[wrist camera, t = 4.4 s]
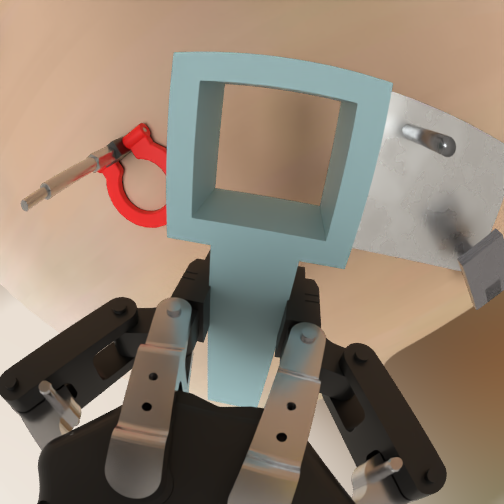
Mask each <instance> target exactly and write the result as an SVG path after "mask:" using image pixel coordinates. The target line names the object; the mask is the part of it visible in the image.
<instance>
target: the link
mask: <svg viewBox="0 0 504 504" xmlns="http://www.w3.org/2000/svg"><path fill="white" fill-rule="evenodd" d="M225 84H234V85H245V86H255V87H264V88H271V89H279V90H285V91H292V92H298V93H303V94H309V95H314V96H319V97H324V98H328V99H333V100H337V101H341V105H340V111H339V117H338V122H337V127H336V133H335V138H334V143H333V148H332V153H331V158H330V162H329V167H328V172H327V176H326V181H325V186H324V190H323V194H322V199H321V203H320V206H317V205H312V204H307V203H301V202H296V201H291V200H285V199H279V198H274V197H268V196H262V195H256V194H250V193H243V192H237V191H230V190H223V189H217V188H215V184H216V171H217V159H218V147H219V136H220V125H221V115H222V106H223V96H224V87H225ZM392 86H393V83H391V82H388V81H385V80H382V79H379V78H375V77H372V76H369V75H365V74H362V73H358V72H354V71H350V70H346V69H342V68H338V67H334V66H329V65H325V64H320V63H315V62H309V61H304V60H298V59H291V58H284V57H277V56H269V55H259V54H247V53H232V52H174V55H173V64H172V74H171V84H170V97H169V111H168V130H167V161H166V211H167V237H168V238H174V239H179V240H185V241H191V242H196V243H202V244H207V245H211V251H210V275H209V286H211V292H210V326H209V328H208V400H212V401H216V402H221V403H226V404H230V405H236V406H241V407H246V406H252V407H257V406H258V403H259V400H260V397H261V394H262V391H263V387H264V384H265V381H266V378H267V375H268V371H269V368H270V365H271V361H272V358H273V355H274V351H275V348H276V340H277V336H278V332H279V328H280V325H281V321H282V318H283V314H284V310H285V306H286V303H287V300H289V298H290V294H291V290H292V287H293V283H294V279H295V275H296V271H297V267H298V263H299V261H302V262H308V263H313V264H319V265H325V266H330V267H336V268H341V269H345V266H346V264H347V261H348V258H349V255H350V252H351V249H352V246H353V243H354V240H355V237H356V234H357V230H358V227H359V224H360V221H361V218H362V214H363V211H364V207H365V204H366V201H367V197H368V194H369V190H370V186H371V183H372V179H373V175H374V171H375V167H376V163H377V159H378V155H379V151H380V147H381V142H382V138H383V133H384V129H385V124H386V119H387V114H388V109H389V103H390V98H391V92H392Z"/></svg>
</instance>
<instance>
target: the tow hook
mask: <svg viewBox="0 0 504 504" xmlns="http://www.w3.org/2000/svg"><path fill="white" fill-rule="evenodd" d="M149 135H150V130H149V128H148V127H147V126H146V125H145V124H143V123H141V124H139V125H138V126H137V127H135V128H134V129H133V130H132V131H131V132H129V133H128V134H127V135H126V136H124V137H121V138H119V139H116V140H114V141H112V142H111V143H110V144H108V145H107V146H106V147H104V148H102V149H100V150H98V151H96V152H94V153H92V154H90V155H89V156H88V157H87V158H86V159H85V160H83V161H81V162H79V163H78V164H76V165H74V166H72V167H70V168H68V169H66V170H65V171H63V172H61V173H59V174H58V175H56V176H54V177H52V178H51V179H49V180H47V181H46V182H44V183H42V184H41V186H40V189H38V190H37V191H35V192H34V193H32V194H31V195H29V196H27V197H26V198H24V199H23V200H22V201H21V207H22V209H23V210H24V211H28V210H29V209H31V208H32V207H33V206H35V205H36V204H38V203H39V202H41V201H42V200H43V199H47V200H48V199H50V198H52V197H53V196H55V195H56V194H58V193H59V192H61V191H62V190H64V189H65V188H67V187H68V186H70V185H71V184H73V183H75V182H76V181H78V180H79V179H81V178H83V177H84V176H86V175H88V174H89V173H91V172H93V173H96V172H99V173H103V175H104V176H105V178H106V179H107V189H108V193H109V196H110V198H111V201H112V203H113V205H114V206H115V207H116V209H117V210H118V211H119V213H120V214H121V215H123V216H124V217H125V218H126V219H127V220H129V221H131V222H132V223H134V224H136V225H139V226H143V227H151V228H156V227H160V226H164V225H166V224H167V211H166V205H165V206H164V207H163V208H161V209H159V210H156V211H145V210H141V209H140V208H138V207H136V206H135V205H133V204H132V203H131V202H130V201H129V199H128V198H127V197H126V195H125V193H124V190H123V186H122V175H123V172H124V171H123V168H122V166H121V165H120V163H119V160H121V159H122V158H123V157H124V156H126V155H127V154H128V153H129V152H131V151H132V152H133V154H134V156H135V157H136V158H137V159H145V160H149V161H151V162H153V163H155V164H156V165H158V166H159V167H160V168H161V169H162V170H163V172H164V173H165V175H166V161H167V149H166V148H165V147H163V146H160V145H158V144H156V143H154V142H153V141H152V139H151V137H150V136H149Z"/></svg>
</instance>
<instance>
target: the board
mask: <svg viewBox="0 0 504 504" xmlns="http://www.w3.org/2000/svg"><path fill="white" fill-rule="evenodd" d="M407 124H411V125H415V126H418V127H422V128H425V129H428V130H432V131H435V132H438V133H441V134H444V135H447V136H450V137H452V138H453V139H454V141H455V143H456V151H455V153H454V155H452V156H451V157H445V156H443V155H441V154H439V153H437V152H435V151H432V150H430V149H428V148H426V147H424V146H422V145H419V144H417V143H415V142H413V141H410V140H408V139H406V138H405V137H404V136H403V133H402V130H403V127H404V126H405V125H407ZM503 198H504V143H502V142H500V141H499V140H497V139H495V138H494V137H492V136H490V135H489V134H487V133H485V132H483V131H481V130H480V129H478V128H476V127H474V126H472V125H470V124H468V123H466V122H464V121H462V120H460V119H458V118H456V117H454V116H452V115H450V114H448V113H446V112H443V111H441V110H439V109H437V108H434V107H432V106H429V105H427V104H425V103H422V102H420V101H417V100H415V99H412V98H409V97H407V96H404V95H401V94H398V93H395V92H391V98H390V103H389V109H388V114H387V119H386V124H385V129H384V133H383V138H382V142H381V147H380V151H379V155H378V159H377V163H376V167H375V171H374V175H373V179H372V183H371V186H370V190H369V194H368V197H367V201H366V204H365V207H364V211H363V214H362V218H361V221H360V224H359V227H358V230H357V234H356V237H355V240H354V243H353V246H352V248H355V249H360V250H364V251H369V252H374V253H379V254H384V255H389V256H393V257H398V258H403V259H408V260H412V261H417V262H421V263H426V264H431V265H435V266H440V267H444V268H448V269H453V270H457V271H461V268H460V266H459V263H458V260H457V258H459V257H460V256H461V255H463V254H464V253H465V252H467V251H468V250H469V249H471V248H472V247H473V246H475V245H476V244H477V243H478V242H480V241H481V240H482V239H484V238H485V237H486V236H487V235H489V234H490V232H491V230H492V227H493V225H494V222H495V220H496V217H497V214H498V212H499V209H500V206H501V203H502V200H503Z"/></svg>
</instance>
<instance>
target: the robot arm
mask: <svg viewBox="0 0 504 504" xmlns="http://www.w3.org/2000/svg"><path fill="white" fill-rule="evenodd" d="M210 251H211V250H210ZM210 251H209V253H208V255H207V257H206V259H205V260H202V259H196V260H195V261H193V262H192V263H190V264H189V266H188V268H187V269H186V272H185V273H184V275H183V276H182V278H181V280H180V282H179V283H178V285H177V287H176V289H175V291H174V292H173V294H172V296H171V298H167V299H164V300H163V301H161V302H160V303H159V304H158V305H157V307H156V308H137V306H136V303H135V302H134V301H133V300H131V299H129V298H126V297H119V298H115V299H112V300H110V301H109V302H107V303H106V304H104V305H103V306H101V307H99V308H98V309H96V310H95V311H93V312H92V313H90V314H89V315H87V316H86V317H84V318H83V319H81V320H79V321H78V322H76V323H75V324H73V325H72V326H70V327H69V328H67V329H66V330H64V331H63V332H61V333H60V334H58V335H57V336H55V337H54V338H52V339H51V340H49V341H48V342H46V343H45V344H44V345H42V346H41V347H39V348H38V349H36V350H35V351H33V352H32V353H30V354H29V355H28V356H26V357H25V358H23V359H22V360H20V361H19V362H17V363H16V364H15V365H13V366H12V367H10V368H9V369H8V370H6V371H5V372H4V373H3V374H2V375H1V377H0V395H1V396H2V397H3V398H4V399H5V400H6V401H7V402H8V403H9V404H10V406H11V407H12V409H13V410H14V411H16V413H18V414H19V415H20V416H21V418H22V420H23V422H24V423H25V425H26V427H27V428H28V430H29V432H30V433H31V435H32V436H33V438H34V439H35V441H36V442H37V444H38V445H39V447H40V448H41V450H42V452H41V454H40V457H39V462H38V471H39V481H40V493H39V500H38V503H37V504H407V503H410V502H413V501H416V500H419V499H421V498H424V497H426V496H429V495H431V494H434V493H436V492H438V491H439V490H440V489H441V488H442V487H443V485H444V483H445V481H446V474H447V473H446V468H445V466H444V464H443V462H442V461H441V459H440V457H439V455H438V454H437V452H436V450H435V448H434V446H433V445H432V443H431V441H430V440H429V438H428V436H427V435H426V433H425V431H424V430H423V428H422V426H421V424H420V423H419V421H418V420H417V418H416V416H415V415H414V413H413V412H412V410H411V408H410V407H409V405H408V403H407V402H406V400H405V398H404V397H403V395H402V394H401V392H400V391H399V389H398V387H397V386H396V384H395V383H394V381H393V379H392V378H391V376H390V375H389V373H388V372H387V370H386V369H385V367H384V366H383V364H382V363H381V361H380V359H379V358H378V356H377V355H376V353H375V352H374V351H373V350H372V349H371V348H370V347H369V346H367V345H364V344H361V343H353V344H350V345H349V346H347V347H346V348H344V347H341V346H339V345H336V344H334V343H332V342H331V341H329V340H328V339H327V338H326V335H325V333H324V331H323V330H322V329H321V317H320V304H319V303H320V299H319V287H318V286H317V284H316V282H315V281H314V280H312V279H306V278H305V267H300V266H298V267H297V271H296V275H295V279H294V283H293V287H292V290H291V294H290V298H289V300H287V303H286V306H285V310H284V314H283V318H282V321H281V325H280V328H279V332H278V336H277V340H276V349H275V357H279V358H280V365H279V368H278V371H277V374H276V376H275V379H274V382H273V385H272V388H271V391H270V394H269V396H268V399H267V402H266V405H265V407H264V408H258V407H252V406H246V407H219V406H216V405H214V404H212V403H210V402H208V401H206V400H204V399H202V398H200V397H198V396H196V395H194V394H191V393H189V383H190V375H191V368H192V360H193V350H194V347H195V345H196V342H197V341H199V342H204V340H205V337H206V334H207V331H208V328H209V326H210V292H211V286H209V275H210ZM113 341H114V342H113ZM112 342H113V343H112ZM109 344H110V345H109ZM106 346H107V347H106ZM105 347H106V348H105ZM102 349H103V350H102ZM101 350H102V351H101ZM98 352H99V353H98ZM97 353H98V354H97ZM131 369H132V371H131V375H130V379H129V382H128V386H127V390H126V394H125V397H124V401H123V405H121V406H119V407H118V408H116V409H114V410H112V411H110V412H108V413H106V414H104V415H102V416H100V417H98V418H96V419H94V420H92V421H90V422H88V423H86V424H84V425H82V426H80V427H78V428H76V429H74V430H72V429H73V427H74V426H77V425H78V424H79V422H80V417H81V409H82V408H83V407H84V406H86V405H87V404H88V403H89V402H91V401H92V400H93V399H94V398H96V397H97V396H98V395H99V394H101V393H102V392H103V391H105V390H106V389H107V388H108V387H109V386H111V385H112V384H113V383H115V382H116V381H117V380H118V379H120V378H121V377H122V376H123V375H125V374H126V373H127V372H128V371H130V370H131ZM319 393H321V394H322V396H323V399H324V401H325V403H326V405H327V407H328V409H329V411H330V413H331V415H332V417H333V419H334V421H335V423H336V425H337V427H338V429H339V431H340V433H341V435H342V438H343V440H344V442H345V444H346V446H347V448H348V450H349V452H350V454H351V456H352V458H353V460H354V462H355V464H356V466H357V468H356V469H355V470H354V472H353V474H352V478H351V481H352V485H353V496H352V498H351V497H350V496H349V495H348V493H347V492H346V491H345V490H344V488H343V487H342V486H341V485H340V483H339V482H338V481H337V479H336V478H335V477H334V475H333V474H332V473H331V472H330V470H329V469H328V467H327V466H326V465H325V464H324V462H323V461H322V459H321V458H320V457H319V455H318V454H317V453H316V451H315V450H314V449H313V447H312V446H311V444H310V443H309V442H308V437H309V433H310V429H311V425H312V421H313V417H314V412H315V408H316V404H317V399H318V395H319Z"/></svg>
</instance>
